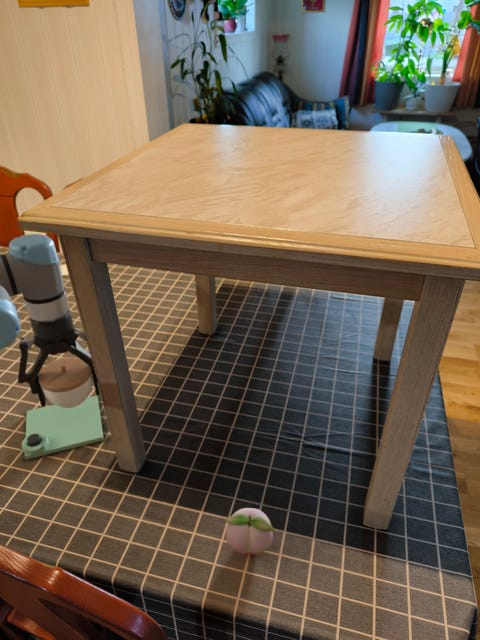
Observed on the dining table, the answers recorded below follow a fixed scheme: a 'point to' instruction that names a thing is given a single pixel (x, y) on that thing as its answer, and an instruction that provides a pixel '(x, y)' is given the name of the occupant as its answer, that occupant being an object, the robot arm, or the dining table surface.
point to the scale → (63, 427)
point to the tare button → (34, 440)
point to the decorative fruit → (249, 531)
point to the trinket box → (66, 381)
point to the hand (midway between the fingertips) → (71, 396)
